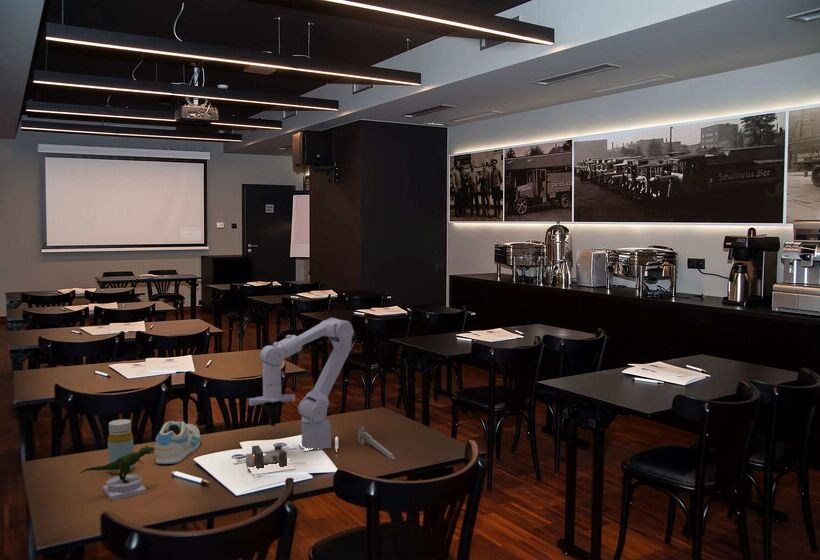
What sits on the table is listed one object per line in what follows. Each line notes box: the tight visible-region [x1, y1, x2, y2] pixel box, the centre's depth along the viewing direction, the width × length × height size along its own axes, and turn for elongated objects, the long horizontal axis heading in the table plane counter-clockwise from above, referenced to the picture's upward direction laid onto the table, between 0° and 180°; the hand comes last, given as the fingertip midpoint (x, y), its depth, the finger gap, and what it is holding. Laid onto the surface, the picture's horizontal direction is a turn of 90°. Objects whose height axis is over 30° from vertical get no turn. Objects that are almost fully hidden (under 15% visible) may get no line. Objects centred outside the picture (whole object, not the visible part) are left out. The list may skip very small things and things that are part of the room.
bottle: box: [107, 418, 135, 475], centre depth 204 cm, size 7×7×15 cm
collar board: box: [251, 444, 288, 469], centre depth 207 cm, size 13×9×6 cm
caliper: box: [357, 426, 396, 460], centre depth 223 cm, size 20×1×6 cm, turn 37°
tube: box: [245, 448, 284, 469], centre depth 206 cm, size 11×4×4 cm, turn 114°
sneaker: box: [154, 420, 201, 465], centre depth 221 cm, size 10×27×11 cm, turn 3°
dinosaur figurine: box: [79, 445, 155, 501], centre depth 187 cm, size 9×20×12 cm, turn 126°
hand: (272, 425), depth 218 cm, fingers closed
